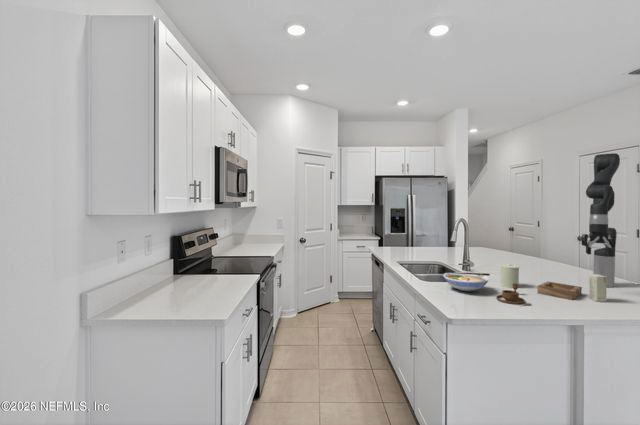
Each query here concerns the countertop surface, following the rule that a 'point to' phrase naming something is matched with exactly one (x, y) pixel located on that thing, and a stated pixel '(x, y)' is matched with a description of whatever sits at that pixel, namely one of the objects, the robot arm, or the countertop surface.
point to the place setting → (511, 296)
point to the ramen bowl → (466, 280)
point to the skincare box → (597, 287)
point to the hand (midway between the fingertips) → (598, 254)
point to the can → (509, 275)
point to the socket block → (559, 290)
